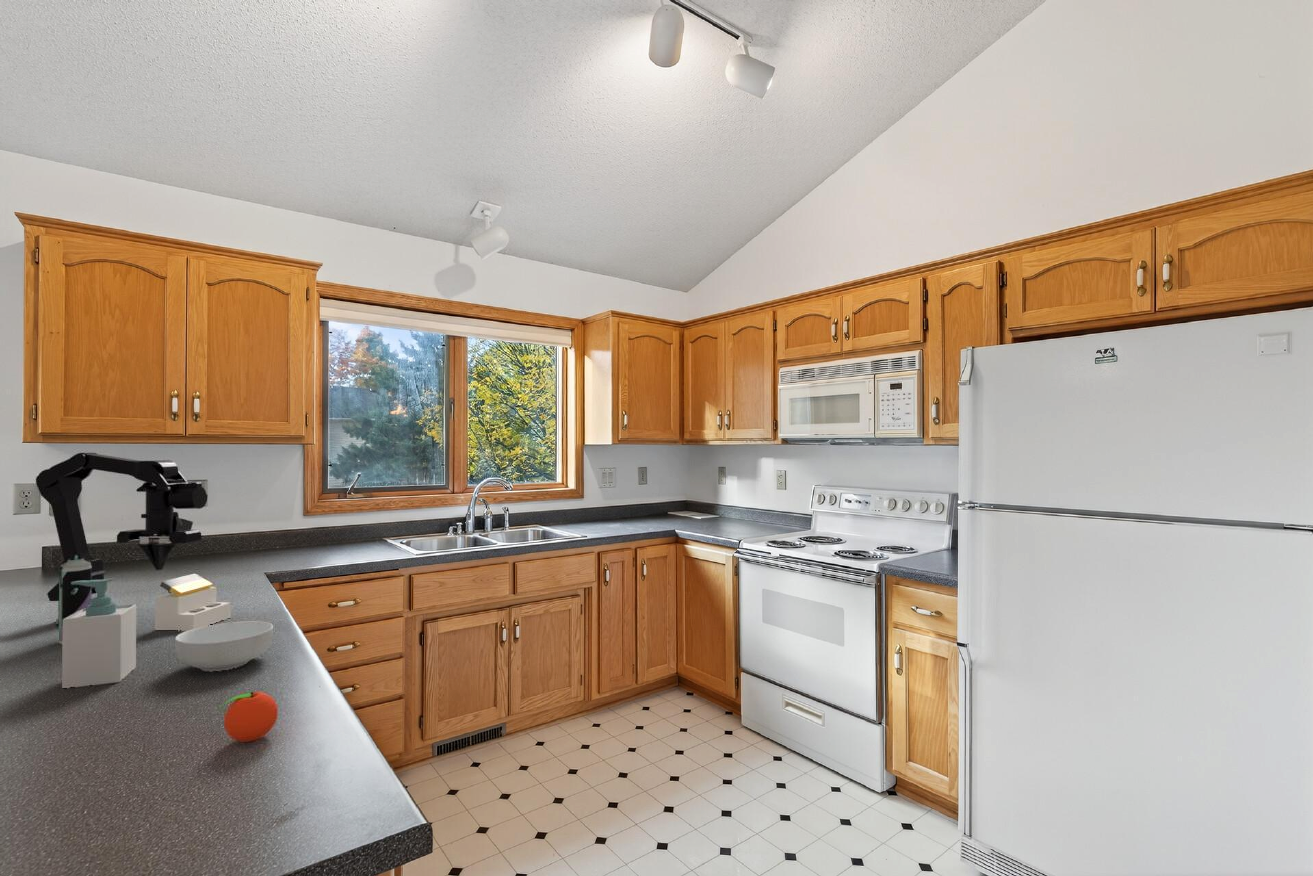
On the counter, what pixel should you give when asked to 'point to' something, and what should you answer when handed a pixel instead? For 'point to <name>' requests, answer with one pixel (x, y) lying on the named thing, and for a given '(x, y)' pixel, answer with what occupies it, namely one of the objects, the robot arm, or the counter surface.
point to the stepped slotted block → (190, 610)
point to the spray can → (73, 588)
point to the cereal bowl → (223, 644)
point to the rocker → (186, 585)
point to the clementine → (250, 716)
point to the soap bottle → (98, 641)
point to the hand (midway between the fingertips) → (159, 569)
